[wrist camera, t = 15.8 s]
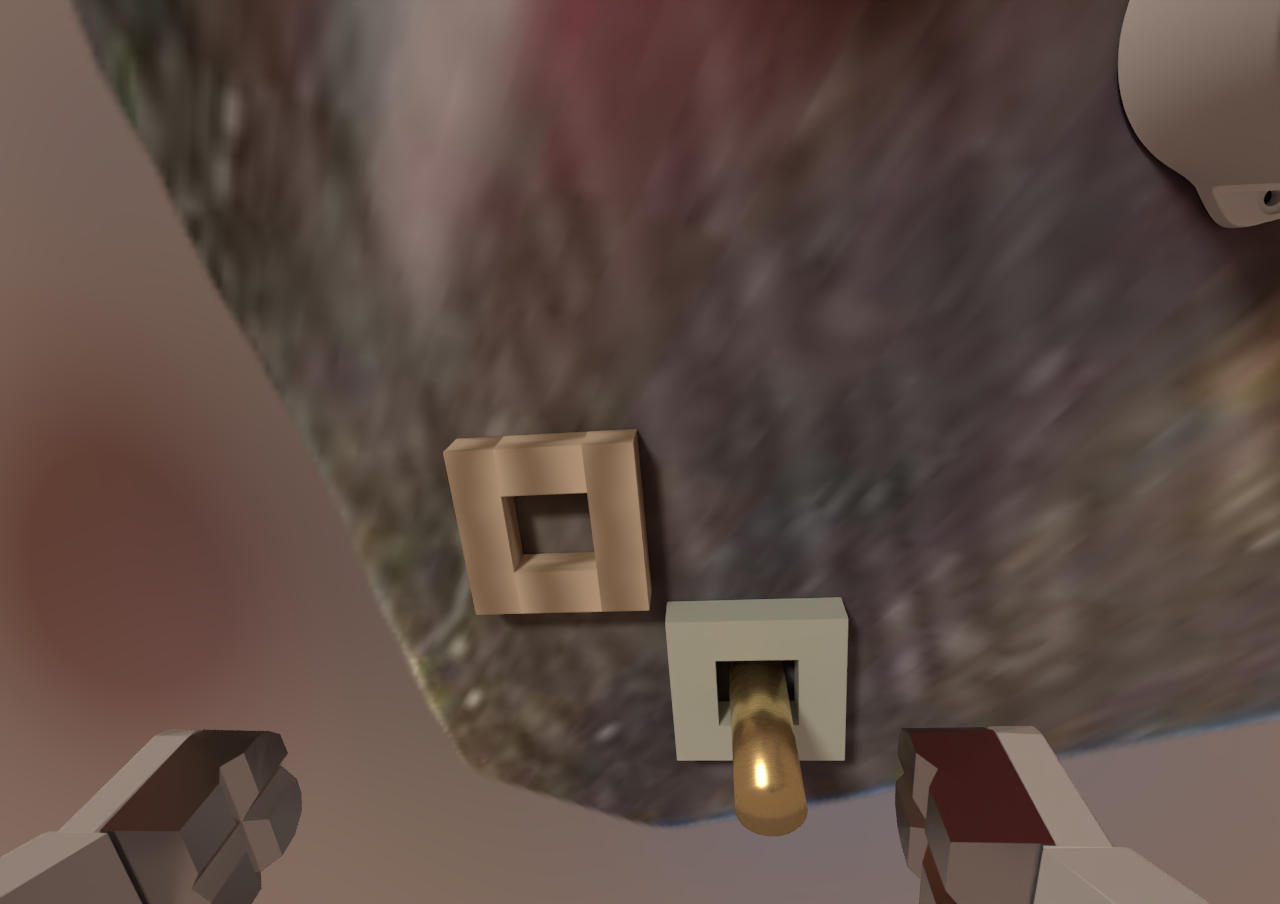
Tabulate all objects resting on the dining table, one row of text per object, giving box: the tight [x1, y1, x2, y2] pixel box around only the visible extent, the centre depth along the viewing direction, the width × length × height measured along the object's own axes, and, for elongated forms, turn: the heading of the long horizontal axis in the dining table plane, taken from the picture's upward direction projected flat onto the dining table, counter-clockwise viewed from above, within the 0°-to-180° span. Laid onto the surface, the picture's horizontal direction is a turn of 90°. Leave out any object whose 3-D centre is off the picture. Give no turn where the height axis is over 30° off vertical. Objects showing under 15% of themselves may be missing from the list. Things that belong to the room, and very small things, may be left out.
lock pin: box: [728, 660, 807, 836], centre depth 44 cm, size 4×4×12 cm
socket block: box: [665, 597, 848, 761], centre depth 48 cm, size 12×12×2 cm
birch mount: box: [443, 429, 652, 615], centre depth 45 cm, size 12×12×2 cm
